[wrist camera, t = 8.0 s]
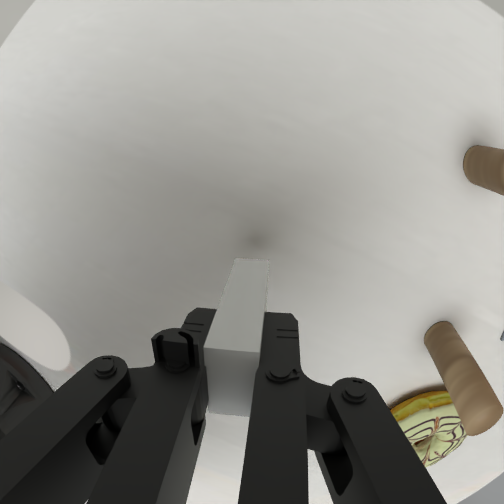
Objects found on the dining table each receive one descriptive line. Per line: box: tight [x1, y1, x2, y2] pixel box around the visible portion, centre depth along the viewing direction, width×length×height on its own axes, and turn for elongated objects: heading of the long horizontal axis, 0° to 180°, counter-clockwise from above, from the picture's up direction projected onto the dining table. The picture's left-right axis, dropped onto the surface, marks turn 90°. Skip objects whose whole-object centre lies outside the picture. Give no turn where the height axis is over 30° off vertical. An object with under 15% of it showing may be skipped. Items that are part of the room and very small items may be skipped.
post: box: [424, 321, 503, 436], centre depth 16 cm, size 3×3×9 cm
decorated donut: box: [390, 391, 467, 467], centre depth 23 cm, size 10×11×4 cm
